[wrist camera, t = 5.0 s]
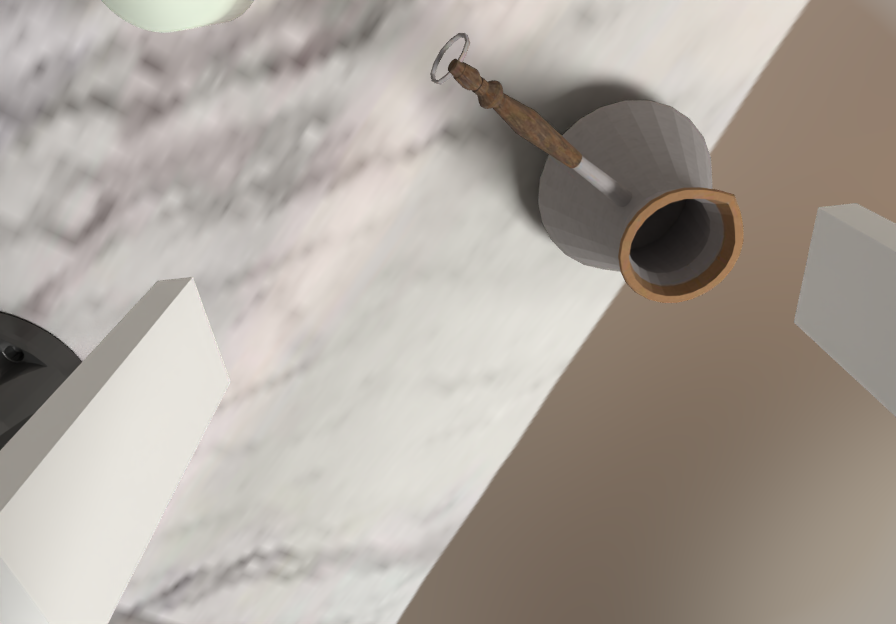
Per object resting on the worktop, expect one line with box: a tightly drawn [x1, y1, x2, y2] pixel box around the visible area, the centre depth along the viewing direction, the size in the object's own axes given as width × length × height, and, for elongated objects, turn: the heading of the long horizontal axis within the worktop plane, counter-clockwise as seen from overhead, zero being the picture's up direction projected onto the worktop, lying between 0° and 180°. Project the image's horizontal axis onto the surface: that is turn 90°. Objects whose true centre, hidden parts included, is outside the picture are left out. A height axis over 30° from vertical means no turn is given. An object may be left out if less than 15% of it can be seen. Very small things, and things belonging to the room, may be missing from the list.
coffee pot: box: [431, 33, 743, 303], centre depth 33 cm, size 21×12×15 cm, turn 53°
